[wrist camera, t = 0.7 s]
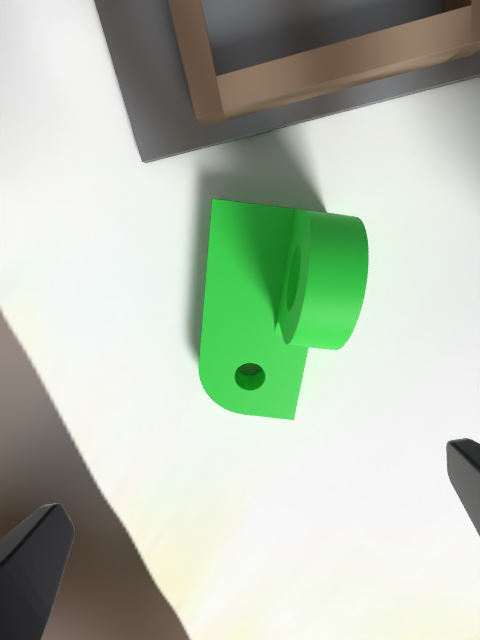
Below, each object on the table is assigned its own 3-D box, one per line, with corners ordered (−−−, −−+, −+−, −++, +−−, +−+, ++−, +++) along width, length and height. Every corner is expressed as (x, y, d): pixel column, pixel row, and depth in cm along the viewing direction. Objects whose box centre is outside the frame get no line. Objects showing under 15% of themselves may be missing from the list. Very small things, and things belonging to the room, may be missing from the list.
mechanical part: (216, 199, 18) (192, 197, 10) (326, 212, 18) (383, 221, 10) (199, 391, 22) (174, 491, 14) (289, 401, 22) (311, 505, 14)
